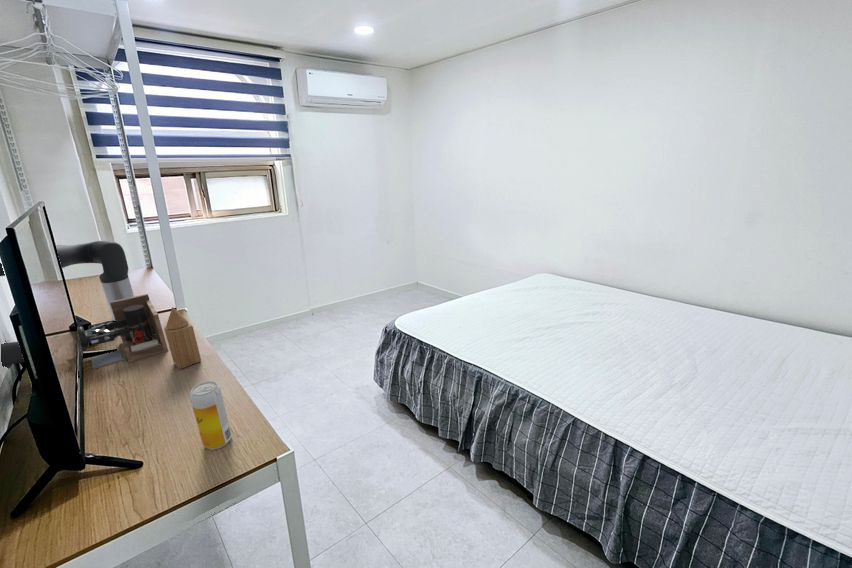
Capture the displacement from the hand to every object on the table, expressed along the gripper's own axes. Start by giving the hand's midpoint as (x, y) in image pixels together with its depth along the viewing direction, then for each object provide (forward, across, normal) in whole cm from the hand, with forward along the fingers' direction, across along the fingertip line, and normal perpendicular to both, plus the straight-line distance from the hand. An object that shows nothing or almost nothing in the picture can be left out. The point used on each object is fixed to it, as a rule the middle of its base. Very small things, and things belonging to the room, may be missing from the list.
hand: (128, 325), depth 137 cm
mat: (-8, -3, +9) cm, 12 cm away
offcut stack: (+3, -6, +9) cm, 11 cm away
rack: (+3, 0, +9) cm, 9 cm away
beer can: (+9, -72, +9) cm, 74 cm away
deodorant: (+3, 0, +9) cm, 10 cm away
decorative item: (+12, -24, +9) cm, 29 cm away
